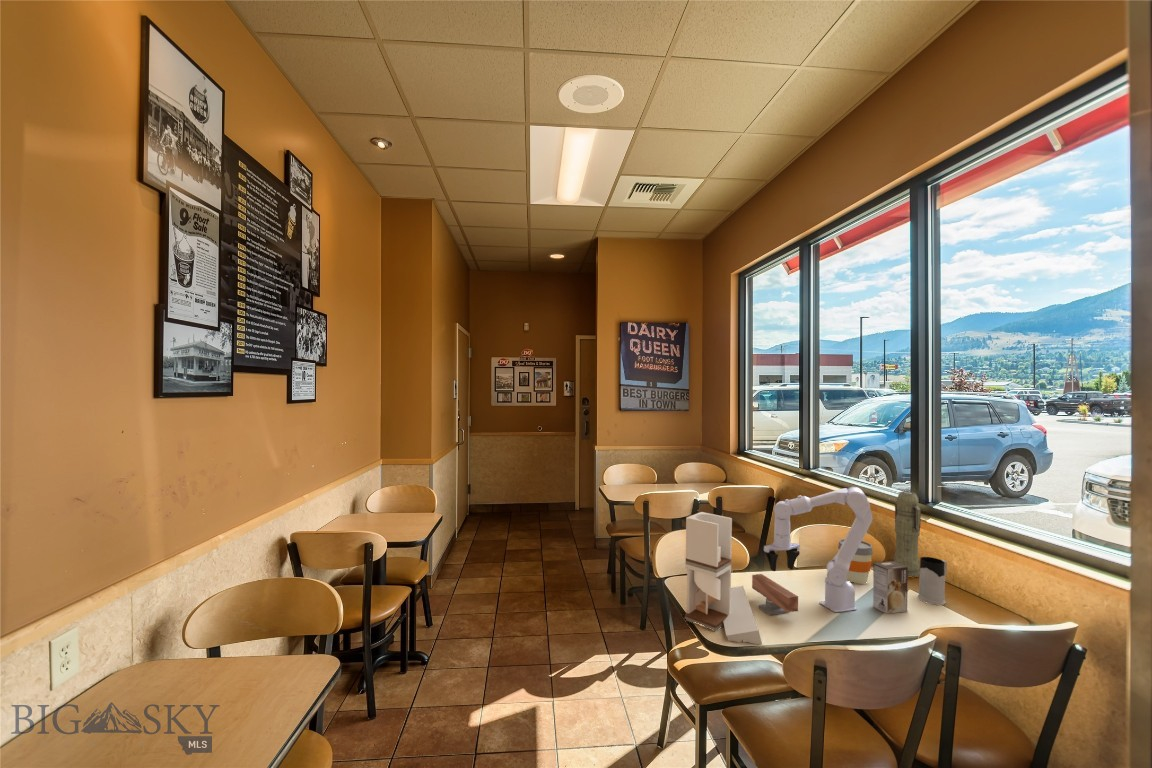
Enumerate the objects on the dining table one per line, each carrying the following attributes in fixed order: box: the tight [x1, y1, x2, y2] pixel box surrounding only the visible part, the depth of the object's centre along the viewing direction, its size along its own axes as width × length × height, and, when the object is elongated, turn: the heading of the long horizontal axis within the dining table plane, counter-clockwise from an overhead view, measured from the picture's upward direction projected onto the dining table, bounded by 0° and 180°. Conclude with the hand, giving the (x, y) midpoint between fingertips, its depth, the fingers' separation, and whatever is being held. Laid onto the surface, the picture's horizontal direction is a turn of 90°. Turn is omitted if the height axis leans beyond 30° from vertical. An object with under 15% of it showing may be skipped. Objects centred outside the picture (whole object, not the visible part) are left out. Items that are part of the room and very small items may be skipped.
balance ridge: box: [758, 597, 790, 616], centre depth 176 cm, size 8×6×4 cm
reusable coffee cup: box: [838, 538, 874, 584], centre depth 205 cm, size 12×13×15 cm
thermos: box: [893, 491, 922, 577], centre depth 212 cm, size 9×12×35 cm
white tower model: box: [684, 511, 733, 632], centre depth 168 cm, size 11×11×35 cm
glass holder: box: [917, 556, 948, 606], centre depth 188 cm, size 9×14×15 cm, turn 117°
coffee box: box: [872, 561, 909, 615], centre depth 178 cm, size 9×6×16 cm
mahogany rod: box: [751, 573, 799, 613], centre depth 176 cm, size 4×20×5 cm, turn 15°
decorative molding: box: [723, 585, 763, 645], centre depth 171 cm, size 34×5×10 cm
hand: (781, 569), depth 188 cm, fingers open, 7 cm apart
